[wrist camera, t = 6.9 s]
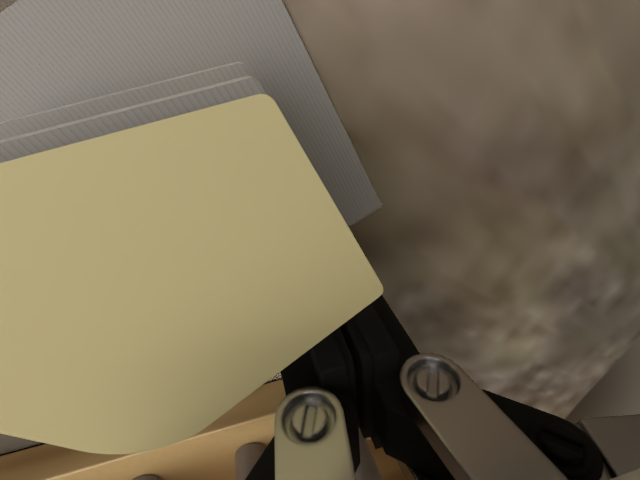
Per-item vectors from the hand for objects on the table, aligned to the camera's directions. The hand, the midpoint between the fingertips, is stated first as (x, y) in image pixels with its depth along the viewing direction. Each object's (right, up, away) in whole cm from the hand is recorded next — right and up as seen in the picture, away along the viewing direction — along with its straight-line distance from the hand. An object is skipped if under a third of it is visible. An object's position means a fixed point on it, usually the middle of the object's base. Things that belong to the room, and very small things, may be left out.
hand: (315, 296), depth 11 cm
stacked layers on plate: (-4, +3, -1) cm, 5 cm away
